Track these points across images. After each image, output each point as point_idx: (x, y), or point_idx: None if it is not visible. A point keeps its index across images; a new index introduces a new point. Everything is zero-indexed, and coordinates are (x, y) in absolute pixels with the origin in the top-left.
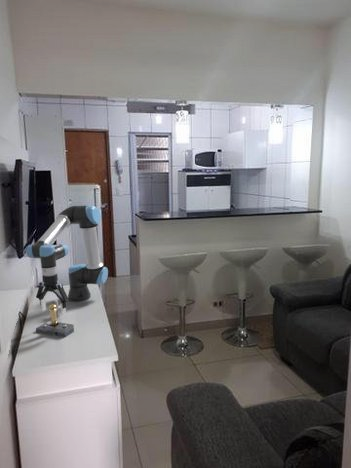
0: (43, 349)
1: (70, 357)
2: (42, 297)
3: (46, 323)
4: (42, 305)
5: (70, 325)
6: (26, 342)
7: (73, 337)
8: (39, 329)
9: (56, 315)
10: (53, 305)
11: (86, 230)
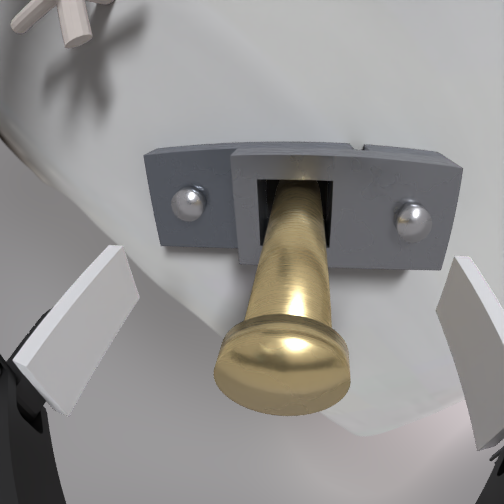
0: (375, 363)
1: None
2: (15, 399)
3: (157, 154)
4: (102, 345)
5: (447, 189)
6: None
7: (470, 229)
8: (193, 244)
9: (99, 1)
10: (299, 379)
11: None
